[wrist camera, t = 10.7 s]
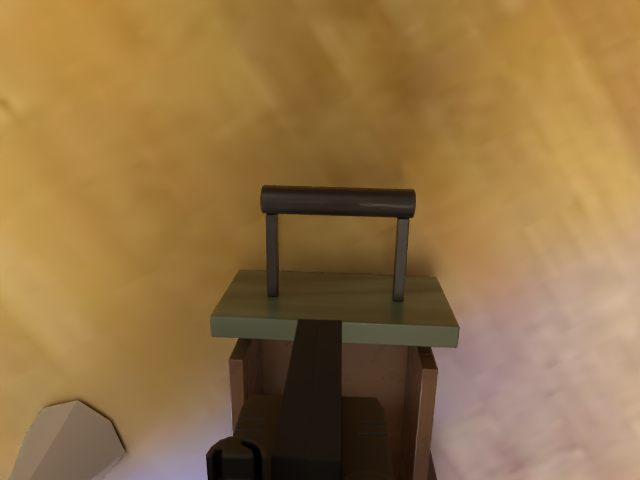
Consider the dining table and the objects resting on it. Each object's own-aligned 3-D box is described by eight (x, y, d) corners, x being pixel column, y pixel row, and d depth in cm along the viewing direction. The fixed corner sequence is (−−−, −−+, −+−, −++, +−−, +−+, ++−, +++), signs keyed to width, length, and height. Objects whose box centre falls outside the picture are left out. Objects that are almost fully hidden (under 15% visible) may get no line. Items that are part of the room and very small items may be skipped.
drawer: (236, 172, 30) (202, 195, 23) (445, 178, 29) (473, 203, 22) (246, 467, 36) (222, 551, 29) (418, 477, 35) (433, 566, 29)
